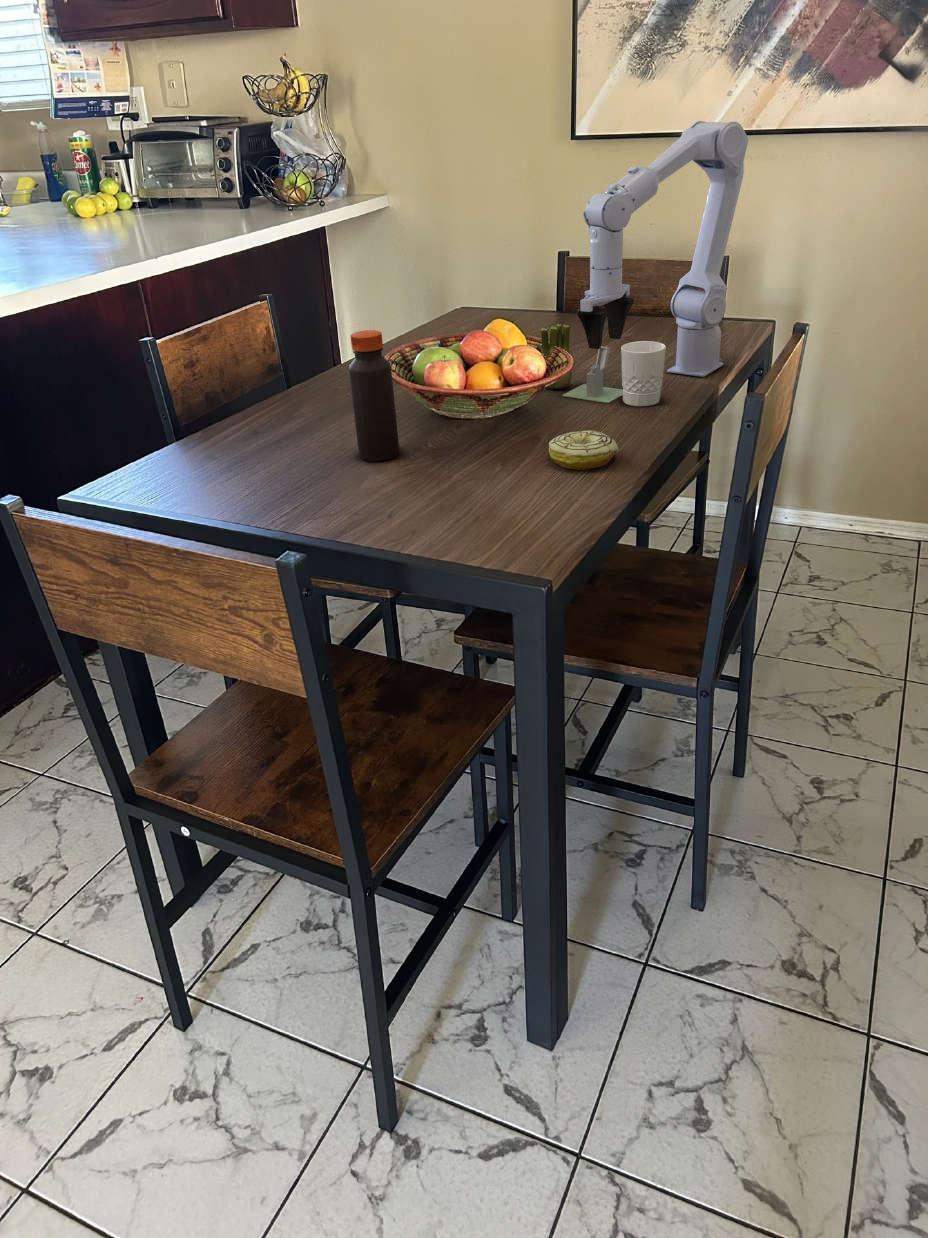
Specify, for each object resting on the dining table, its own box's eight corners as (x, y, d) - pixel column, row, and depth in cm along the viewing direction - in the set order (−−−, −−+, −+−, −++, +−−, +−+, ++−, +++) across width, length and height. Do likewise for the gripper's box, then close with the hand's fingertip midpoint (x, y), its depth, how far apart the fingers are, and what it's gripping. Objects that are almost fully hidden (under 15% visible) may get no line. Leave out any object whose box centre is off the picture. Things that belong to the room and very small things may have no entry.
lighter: (594, 397, 175) (595, 354, 171) (586, 396, 176) (586, 354, 172) (609, 386, 180) (610, 345, 176) (601, 385, 181) (601, 344, 177)
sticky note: (583, 384, 183) (583, 383, 183) (629, 391, 177) (629, 390, 177) (562, 395, 178) (562, 394, 177) (608, 403, 172) (608, 402, 172)
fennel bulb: (540, 391, 181) (539, 328, 175) (543, 384, 185) (542, 322, 179) (570, 391, 180) (570, 328, 174) (572, 383, 184) (572, 321, 178)
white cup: (661, 393, 175) (664, 340, 170) (664, 407, 168) (667, 351, 163) (618, 395, 176) (620, 341, 171) (620, 408, 169) (622, 353, 164)
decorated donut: (629, 456, 148) (630, 434, 146) (589, 478, 142) (590, 454, 140) (577, 444, 155) (577, 422, 153) (536, 463, 148) (535, 440, 146)
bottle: (382, 445, 160) (369, 326, 150) (408, 453, 156) (396, 331, 145) (351, 456, 156) (335, 335, 146) (376, 465, 152) (362, 341, 141)
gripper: (606, 257, 174) (605, 331, 181) (565, 272, 164) (566, 350, 171) (640, 260, 170) (638, 335, 177) (600, 275, 160) (599, 354, 167)
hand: (605, 343), depth 174 cm, fingers open, 7 cm apart
